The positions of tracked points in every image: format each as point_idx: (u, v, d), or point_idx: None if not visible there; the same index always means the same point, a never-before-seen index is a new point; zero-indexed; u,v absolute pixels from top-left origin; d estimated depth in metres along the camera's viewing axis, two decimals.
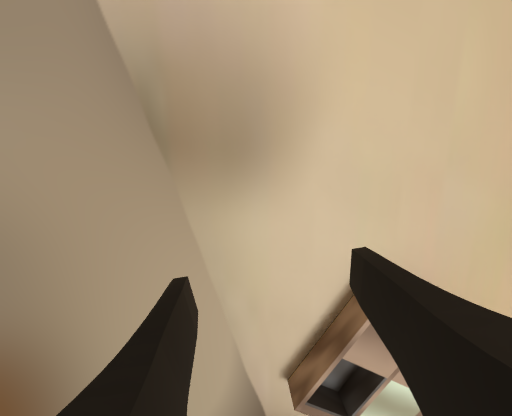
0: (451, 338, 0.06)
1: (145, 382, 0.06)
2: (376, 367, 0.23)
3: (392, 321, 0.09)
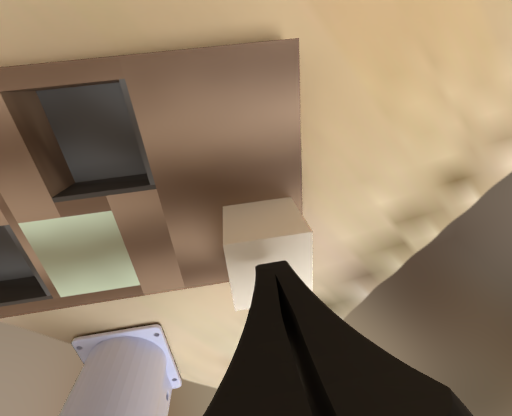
0: (311, 364, 0.06)
1: (292, 354, 0.06)
2: None
3: (293, 339, 0.09)
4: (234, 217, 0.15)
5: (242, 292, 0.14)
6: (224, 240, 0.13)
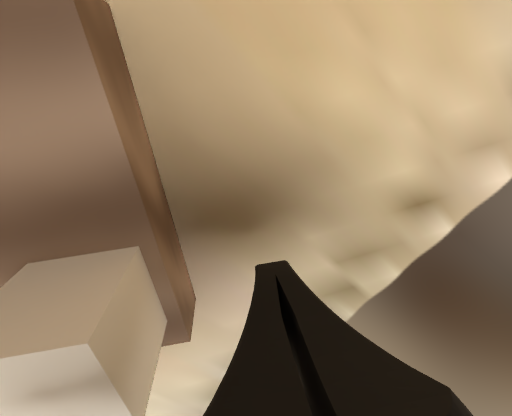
0: (311, 364, 0.06)
1: (292, 355, 0.06)
2: None
3: (293, 339, 0.09)
4: (12, 292, 0.09)
5: None
6: None
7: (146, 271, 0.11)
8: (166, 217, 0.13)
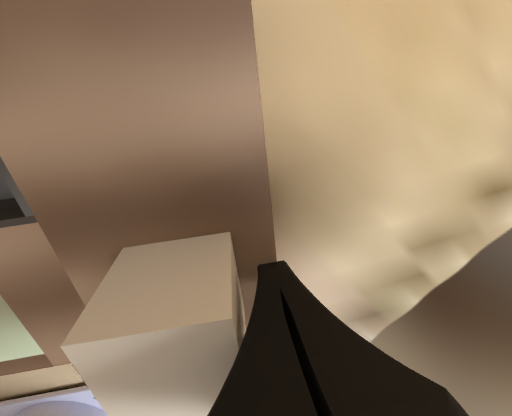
0: (308, 364, 0.06)
1: (296, 354, 0.06)
2: None
3: None
4: (123, 273, 0.09)
5: (124, 409, 0.08)
6: (71, 333, 0.07)
7: (234, 257, 0.11)
8: None
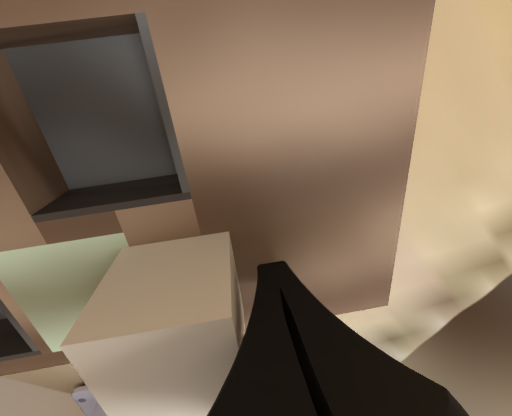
0: (309, 364, 0.06)
1: (296, 354, 0.06)
2: None
3: (291, 339, 0.09)
4: (122, 273, 0.09)
5: (124, 409, 0.08)
6: (70, 333, 0.07)
7: (233, 256, 0.11)
8: None
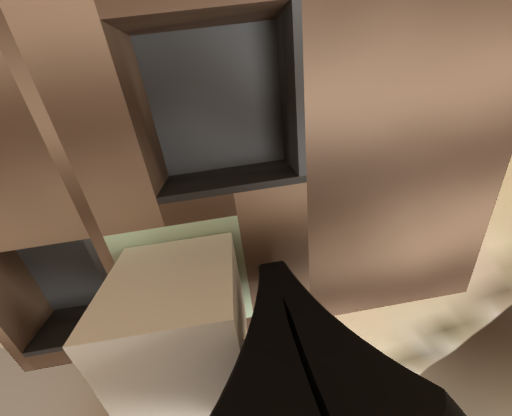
0: (306, 364, 0.06)
1: (298, 353, 0.06)
2: (35, 233, 0.10)
3: None
4: (125, 274, 0.09)
5: (126, 410, 0.08)
6: (73, 334, 0.07)
7: (235, 257, 0.11)
8: None
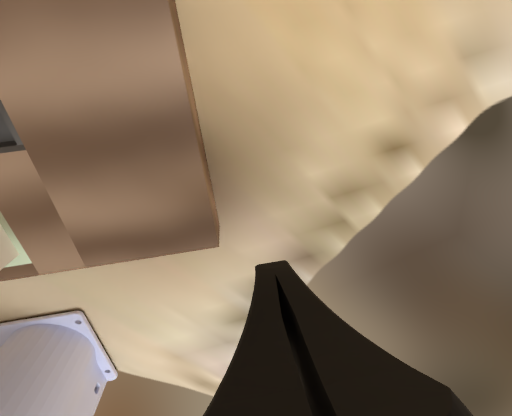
0: (311, 364, 0.06)
1: (292, 355, 0.06)
2: None
3: (293, 339, 0.09)
4: None
5: None
6: None
7: None
8: (202, 149, 0.17)
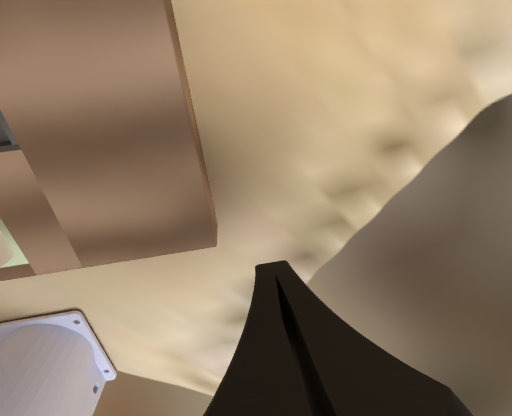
0: (311, 364, 0.06)
1: (292, 355, 0.06)
2: None
3: (293, 339, 0.09)
4: None
5: None
6: None
7: None
8: (199, 147, 0.17)
